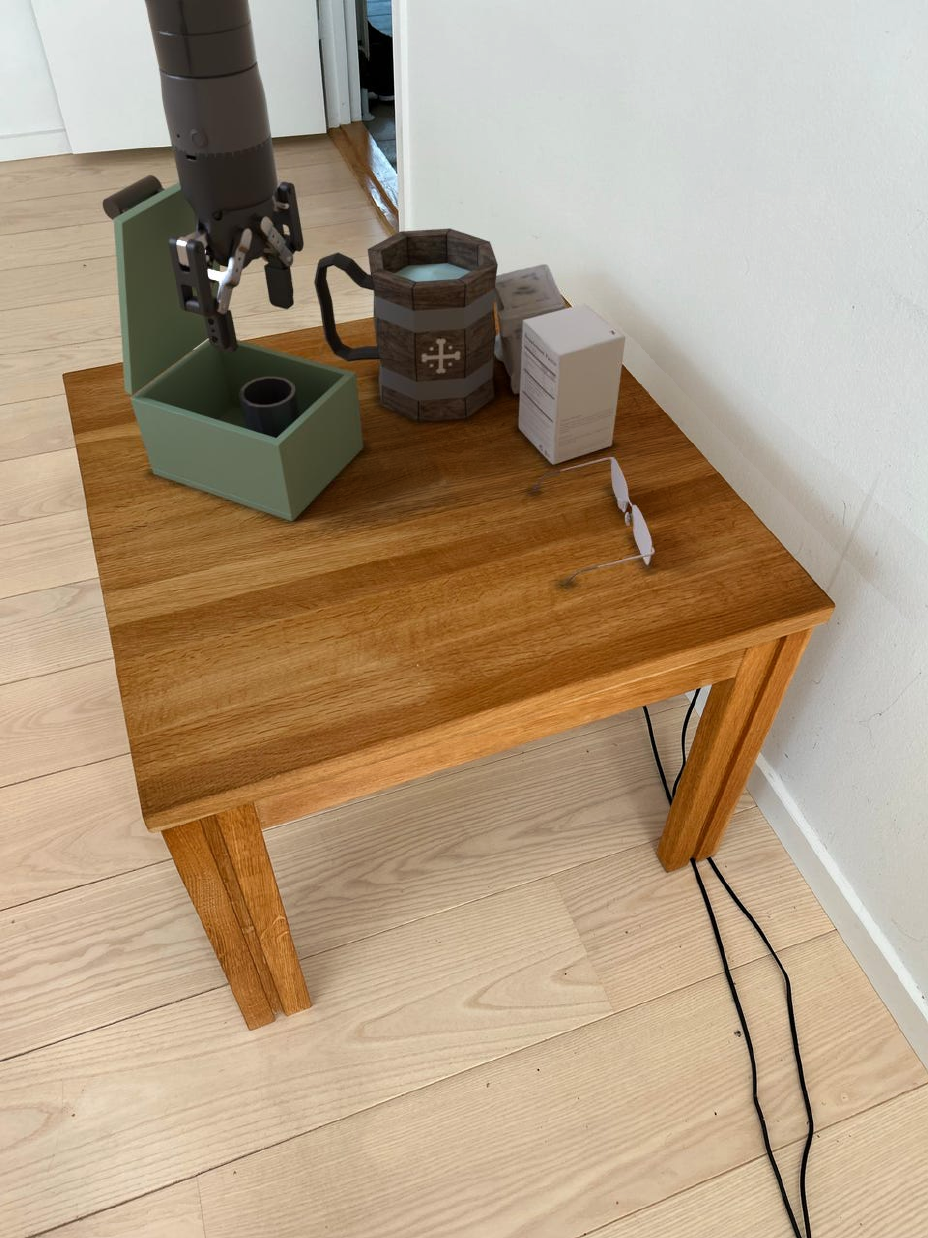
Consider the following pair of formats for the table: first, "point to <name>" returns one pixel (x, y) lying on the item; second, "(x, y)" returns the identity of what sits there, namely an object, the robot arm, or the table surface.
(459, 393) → the mug
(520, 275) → the incense holder
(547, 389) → the white packaging box
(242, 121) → the robot arm
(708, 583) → the table surface
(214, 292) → the lid
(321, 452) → the chest
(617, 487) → the eyeglasses
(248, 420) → the cup
